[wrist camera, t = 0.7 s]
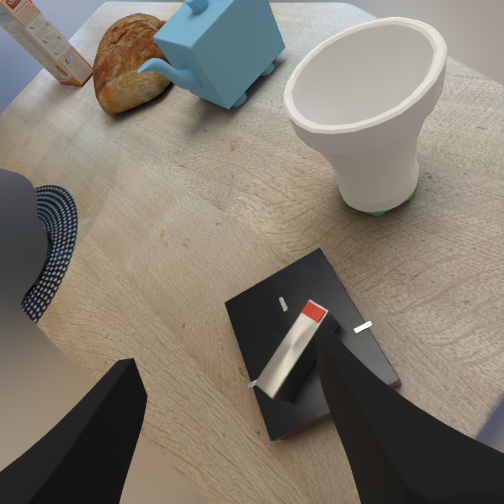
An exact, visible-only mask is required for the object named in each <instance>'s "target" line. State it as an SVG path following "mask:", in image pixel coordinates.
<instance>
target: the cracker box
mask: <svg viewBox="0 0 504 504" xmlns="http://www.w3.org/2000/svg"><path fill="white" fill-rule="evenodd" d="M0 26H2V28H4V29H5V30H6V31H7V32H8V33H9V34H10V35H11V36H12V37H13V38H14V39H15V40H16V41H17V42H18V43H19V44H20V45H21V46H23V48H24V49H26V50H27V51H28V52H29V53H30V54H31V55H32V56H33V57H34V58H35V59H36V60H37V61H38V62H39V63H40V64H41V65H42V66H43V67H44V68H45V69H46V70H47V71H49V72H50V73H51V74H52V75H53V76H54V77H55V78H56V79H57V80H58V81H59V82H60V83H62V84H71V85H79V86H82V85H83V84H84V83H85V81H86V80H87V79H88V78H89V77H90V76H91V75H92V73H93V68H92V67H91V66H90V65H89V64H88V63H87V61H86V60H85V59H84V58H83V57H82V56H81V55H80V54H79V53H78V52H77V51H76V49H75V48H74V47H73V46H72V45H71V44H70V43H69V42H68V41H67V40H66V39H65V37H64V36H63V35H62V34H61V33H60V32H59V31H58V30H57V29H56V28H55V26H54V25H53V24H52V23H51V22H50V21H49V20H48V19H47V18H46V17H45V16H44V15H43V13H42V12H41V11H40V10H39V9H38V8H37V7H36V6H35V4H34V3H33V2H32V1H31V0H0Z"/></svg>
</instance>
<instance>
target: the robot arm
mask: <svg viewBox="0 0 504 504" xmlns="http://www.w3.org/2000/svg"><path fill="white" fill-rule="evenodd" d="M315 340H316V354H317V367H318V375H319V378H320V382H321V386H322V390H323V393H324V397H325V400H326V402H327V405H328V408H329V410H330V413H331V416H332V418H333V421H334V423H335V426H336V428H337V431H338V434H339V436H340V439H341V441H342V444H343V447H344V449H345V452H346V455H347V458H348V460H349V463H350V466H351V470H352V473H353V477H354V480H355V484H356V487H357V491H358V494H359V498H360V501H361V504H504V453H502V452H499V451H498V450H495V449H493V448H491V447H489V446H487V445H485V444H483V443H480V442H478V441H476V440H474V439H472V438H470V437H468V436H466V435H464V434H463V433H461V432H459V431H457V430H455V429H453V428H452V427H450V426H448V425H446V424H444V423H443V422H441V421H439V420H438V419H436V418H434V417H433V416H431V415H430V414H428V413H426V412H425V411H423V410H422V409H420V408H418V407H417V406H415V405H414V404H413V403H411V402H410V401H408V400H407V399H405V398H404V397H403V396H401V395H400V394H399V393H397V392H396V391H395V390H393V389H392V388H391V387H389V386H388V385H387V384H386V383H385V382H383V381H382V380H381V379H380V378H379V377H377V376H376V375H375V374H374V373H373V372H372V371H371V370H370V369H368V368H367V367H366V366H365V365H364V364H363V363H362V362H361V361H360V360H359V359H358V358H357V357H356V356H355V355H354V354H353V353H352V352H351V351H350V350H349V349H348V348H347V347H346V346H345V345H344V344H343V343H342V342H341V340H340V339H339V338H338V337H337V336H336V335H335V334H334V332H333V331H331V330H326V331H319V332H315ZM146 403H147V393H146V391H145V388H144V385H143V382H142V380H141V377H140V374H139V371H138V369H137V366H136V363H135V360H134V358H131V359H124V360H118V361H117V362H116V363H115V364H114V365H113V366H112V367H111V368H110V370H109V371H108V372H107V373H106V374H105V375H104V376H103V377H102V378H101V379H100V380H99V381H98V383H97V384H96V385H95V386H94V387H93V388H92V389H91V390H90V391H89V392H88V393H87V394H86V396H84V397H83V399H82V400H81V401H80V402H79V403H78V404H77V405H76V406H75V407H74V408H73V409H72V410H71V411H70V412H69V413H68V414H67V415H66V416H65V417H64V418H63V419H62V420H61V421H60V422H59V423H58V424H57V425H56V426H54V427H53V428H52V429H51V430H50V431H49V432H48V433H47V434H46V435H45V436H44V437H42V438H41V439H40V440H39V441H38V442H37V443H35V444H34V445H33V446H32V447H31V448H30V449H29V450H27V451H26V452H25V453H24V454H23V455H21V456H20V457H19V458H17V459H16V460H15V461H14V462H12V463H11V464H10V465H8V466H7V467H6V468H5V469H3V470H2V471H1V472H0V504H119V502H120V497H121V494H122V490H123V486H124V483H125V479H126V476H127V473H128V470H129V467H130V463H131V460H132V457H133V454H134V451H135V447H136V444H137V441H138V437H139V434H140V431H141V427H142V424H143V420H144V414H145V409H146Z"/></svg>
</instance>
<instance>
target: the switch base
mask: <svg viewBox="0 0 504 504" xmlns="http://www.w3.org/2000/svg"><path fill="white" fill-rule="evenodd" d="M309 300H312V301H314V302H316V303H317V304H319V305H321V306H322V307H324V308H326V309H327V310H329V311H330V313H331V314H332V315H333V316H334V317H335V319H336V320H337V321H338V322H339V324H340V325H339V326H338V328H337V329H336V331H335V333H334V334H335V335H336V336H337V337H338V338H339V339H340V340H341V342H342V343H343V344H344V345H345V346H346V347H347V348H348V349H349V350H350V351H351V352H352V353H353V354H354V355H355V356H356V357H357V358H358V359H359V360H360V361H361V362H362V363H363V364H364V365H365V366H366V367H367V368H368V369H370V370H371V371H372V372H373V373H374V374H375V375H376V376H377V377H379V378H380V379H381V380H382V381H383V382H385V383H386V384H387V385H388V386H389V387H391V388H392V389H393V388H395V387H397V386H399V385H401V384H402V383H401V381H400V379H399V377H398V376H397V374H396V372H395V371H394V369H393V367H392V366H391V364H390V363H389V361H388V359H387V358H386V356H385V354H384V353H383V351H382V349H381V348H380V346H379V344H378V343H377V341H376V339H375V338H374V336H373V334H372V333H371V331H370V330H369V328H368V327H370V326H372V324H371V323H370V321H369V322H367V323H365V321H364V320H363V318H362V316H361V315H360V313H359V311H358V310H357V308H356V306H355V305H354V303H353V302H352V300H351V298H350V297H349V295H348V293H347V292H346V290H345V288H344V287H343V285H342V283H341V282H340V280H339V278H338V277H337V275H336V273H335V272H334V270H333V269H332V267H331V265H330V264H329V262H328V260H327V259H326V257H325V255H324V254H323V252H322V250H321V249H320V248H318V249H316V250H315V251H313V252H311V253H310V254H308V255H306V256H304V257H303V258H301V259H299V260H297V261H296V262H294V263H292V264H291V265H289V266H287V267H285V268H284V269H282V270H280V271H278V272H277V273H275V274H273V275H272V276H270V277H268V278H266V279H265V280H263V281H261V282H259V283H258V284H256V285H254V286H253V287H251V288H249V289H247V290H246V291H244V292H242V293H240V294H239V295H237V296H235V297H234V298H232V299H230V300H228V301H227V302H225V306H226V309H227V312H228V315H229V318H230V320H231V323H232V326H233V329H234V332H235V335H236V338H237V341H238V344H239V347H240V350H241V353H242V356H243V359H244V362H245V365H246V368H247V371H248V374H249V377H250V380H251V383H249V384H247V386H248V389H250V388H251V387H253V389H254V392H255V395H256V398H257V401H258V404H259V407H260V410H261V413H262V416H263V419H264V422H265V425H266V428H267V431H268V434H269V437H270V440H271V441H276V440H285V439H287V438H289V437H291V436H293V435H295V434H297V433H300V432H302V431H304V430H306V429H308V428H310V427H312V426H314V425H317V424H319V423H321V422H323V421H325V420H327V419H329V418H331V417H332V416H331V413H330V410H329V408H328V405H327V402H326V400H325V397H324V393H323V390H322V386H321V382H320V378H319V375H318V367H317V361H316V363H315V365H314V366H313V368H312V369H311V371H310V372H309V374H308V376H307V377H306V379H305V380H304V382H303V384H302V385H301V387H300V388H299V390H298V392H297V393H296V395H295V396H294V398H293V400H292V401H291V402H287V401H281V400H276V399H272V398H270V397H269V396H268V395H267V394H266V393H265V392H264V391H263V390H261V389H260V388H259V387H258V386H257V385H256V384H255V382H256V381H257V379H258V378H259V376H260V375H261V373H262V372H263V370H264V368H265V367H266V365H267V364H268V362H269V361H270V359H271V358H272V356H273V355H274V353H275V352H276V350H277V348H278V347H279V345H280V344H281V342H282V341H283V339H284V338H285V336H286V335H287V333H288V332H289V330H290V328H291V327H292V325H293V324H294V322H295V321H296V319H297V318H298V316H299V315H300V313H301V312H302V310H303V308H304V307H305V305H306V304H307V302H308V301H309Z"/></svg>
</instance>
